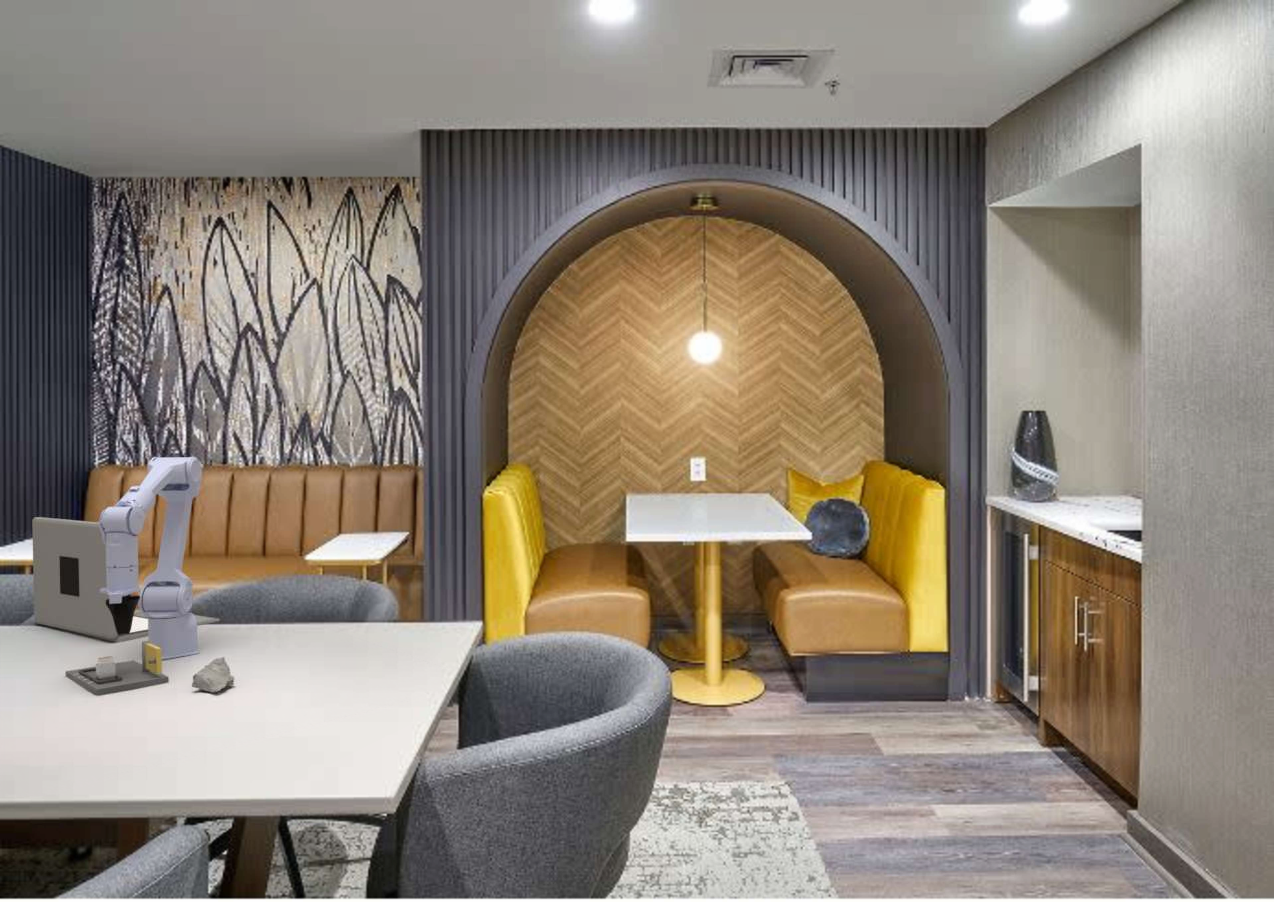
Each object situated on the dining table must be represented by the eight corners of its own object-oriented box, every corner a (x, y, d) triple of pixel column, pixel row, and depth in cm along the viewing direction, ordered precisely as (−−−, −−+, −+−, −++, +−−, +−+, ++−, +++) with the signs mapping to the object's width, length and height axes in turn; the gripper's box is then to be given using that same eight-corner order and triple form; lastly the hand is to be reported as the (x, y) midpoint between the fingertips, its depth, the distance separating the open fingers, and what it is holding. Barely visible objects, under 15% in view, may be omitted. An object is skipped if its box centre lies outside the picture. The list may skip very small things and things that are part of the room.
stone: (249, 676, 199) (249, 655, 199) (220, 694, 187) (220, 672, 187) (218, 675, 199) (218, 654, 199) (187, 693, 187) (187, 671, 187)
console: (133, 665, 210) (133, 632, 210) (168, 682, 196) (168, 646, 196) (65, 677, 201) (64, 641, 200) (97, 695, 187) (96, 657, 186)
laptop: (221, 628, 250) (219, 514, 249) (111, 650, 226) (108, 524, 226) (142, 614, 270) (140, 508, 269) (33, 632, 246) (30, 517, 245)
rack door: (149, 667, 200) (149, 643, 200) (161, 673, 195) (161, 648, 195) (139, 669, 199) (139, 644, 198) (151, 675, 194) (151, 649, 194)
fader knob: (111, 676, 195) (111, 655, 195) (115, 678, 194) (115, 657, 194) (96, 679, 193) (95, 657, 193) (100, 681, 192) (99, 659, 192)
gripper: (108, 562, 204) (109, 627, 204) (91, 572, 190) (92, 642, 190) (145, 560, 206) (147, 625, 206) (131, 570, 192) (133, 639, 192)
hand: (123, 633), depth 198 cm, fingers closed
